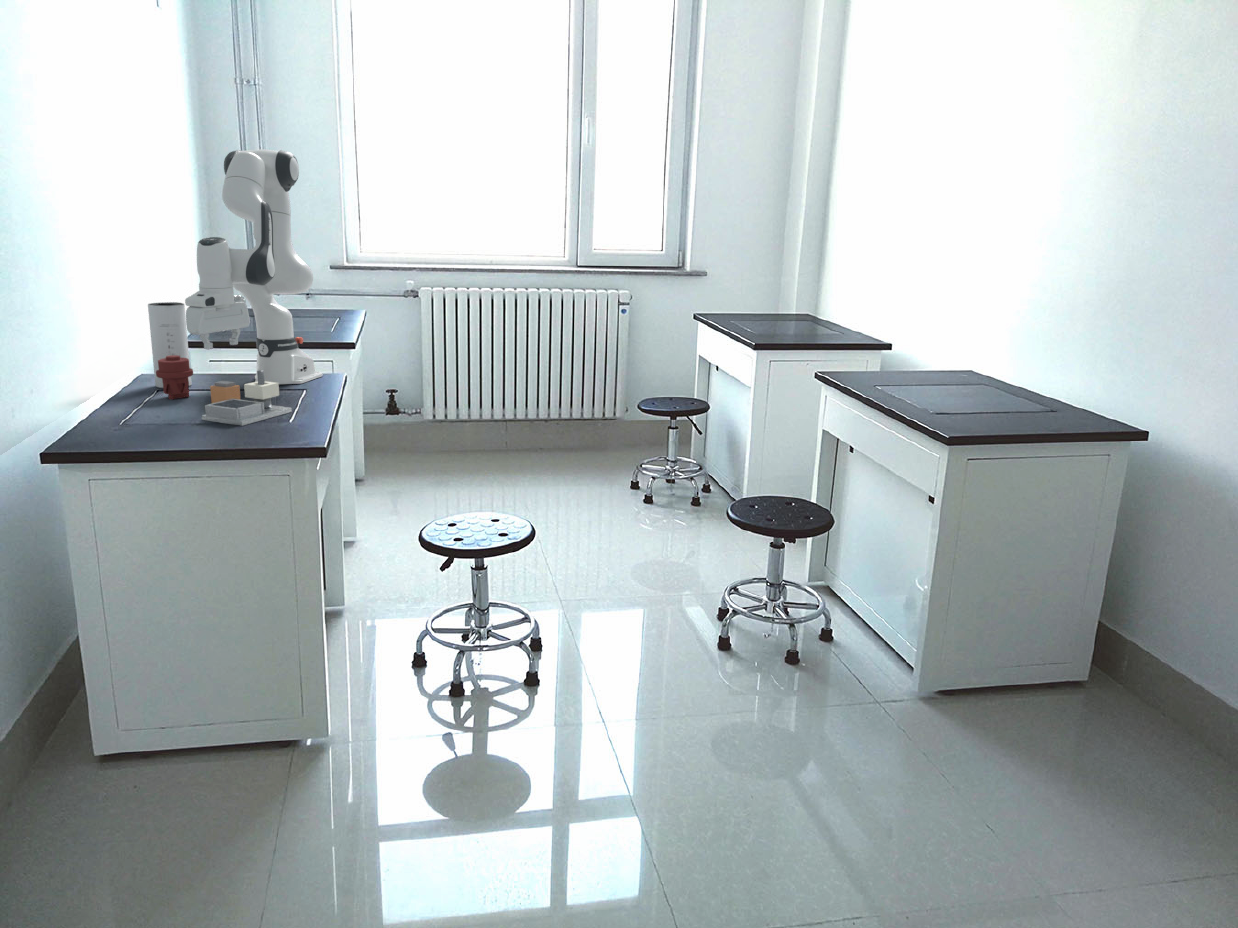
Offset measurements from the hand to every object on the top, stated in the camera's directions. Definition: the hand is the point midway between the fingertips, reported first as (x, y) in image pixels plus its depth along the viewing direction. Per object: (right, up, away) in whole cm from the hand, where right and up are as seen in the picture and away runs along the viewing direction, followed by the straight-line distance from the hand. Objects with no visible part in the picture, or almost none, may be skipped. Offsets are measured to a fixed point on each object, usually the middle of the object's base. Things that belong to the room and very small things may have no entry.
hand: (221, 346), depth 274 cm
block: (0, -17, +5) cm, 17 cm away
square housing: (+12, -14, -2) cm, 19 cm away
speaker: (-27, -9, +30) cm, 41 cm away
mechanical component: (-19, -14, +14) cm, 27 cm away
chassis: (+10, -20, -6) cm, 23 cm away
